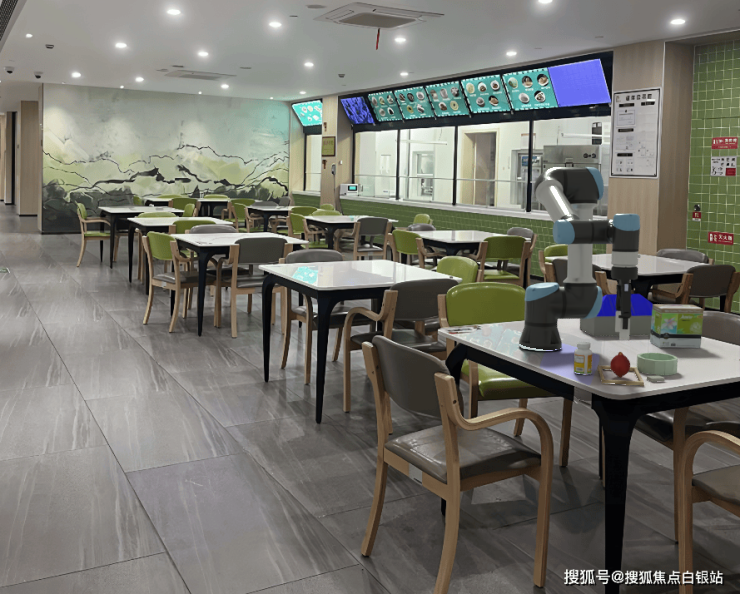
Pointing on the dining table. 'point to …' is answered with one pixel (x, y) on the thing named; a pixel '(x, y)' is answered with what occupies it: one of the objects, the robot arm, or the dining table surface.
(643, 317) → the house
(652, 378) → the stone
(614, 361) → the onion
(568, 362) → the dining table surface
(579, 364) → the supplement bottle
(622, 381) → the picture frame
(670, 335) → the tea box
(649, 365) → the bowl
